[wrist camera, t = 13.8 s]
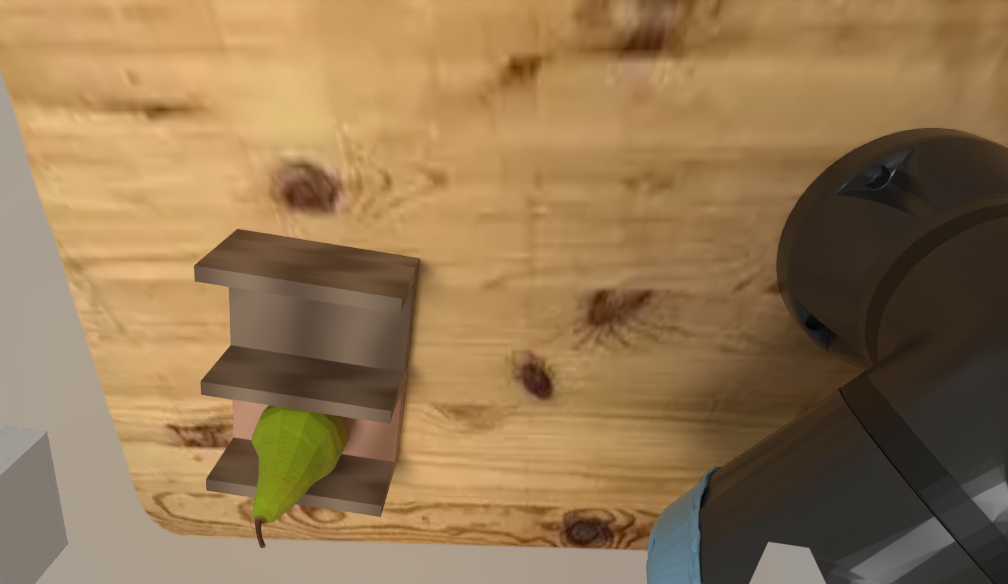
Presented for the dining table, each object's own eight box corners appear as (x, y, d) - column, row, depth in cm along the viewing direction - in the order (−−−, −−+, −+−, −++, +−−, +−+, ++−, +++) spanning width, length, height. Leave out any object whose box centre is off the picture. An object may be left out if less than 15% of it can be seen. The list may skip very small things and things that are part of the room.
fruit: (269, 368, 46) (186, 489, 35) (358, 378, 46) (302, 503, 35) (273, 441, 49) (198, 574, 38) (357, 451, 49) (305, 587, 38)
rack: (418, 258, 43) (402, 298, 38) (397, 459, 51) (380, 516, 45) (237, 229, 43) (194, 265, 38) (242, 435, 50) (206, 490, 45)
